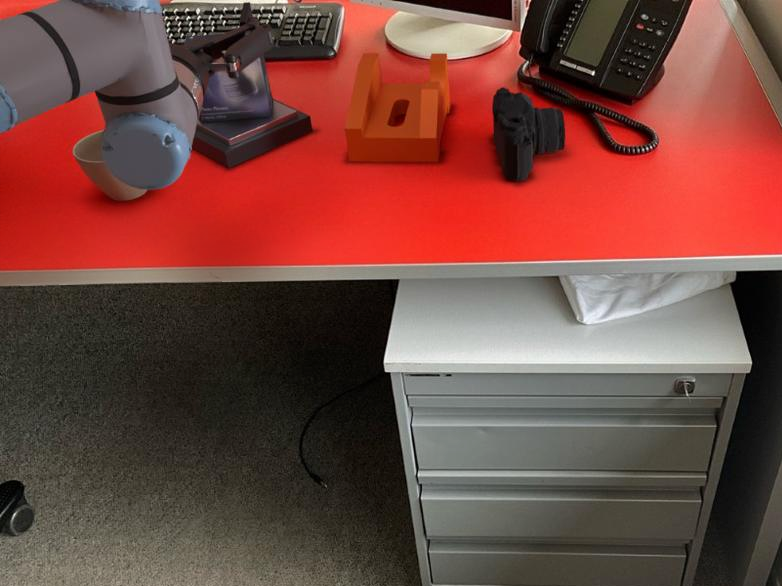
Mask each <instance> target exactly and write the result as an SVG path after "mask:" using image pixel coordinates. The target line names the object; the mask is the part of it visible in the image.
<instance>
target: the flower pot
mask: <svg viewBox="0 0 782 586" xmlns="http://www.w3.org/2000/svg"><path fill="white" fill-rule="evenodd" d="M103 131H104V129H102V130H98V131H96V132H93V133H90V134H88V135H86V136H84V137H83V138H81V139H79V140H78V141H77V142H76V143H75V144H74V145H73V147H72V155H73V157H74V159H75V161H76V162H77V164H78V166H79V167H80V169H81V170H82V171H83V173H84V174H85V175H86V177H87V178H88V179H89V180H90V181H91V182H92V183H93V185H94V186H96V187H97V188H98V189H99V190H100V191H101V192H102V193H104V194H105V195H106V196H108V197H109V198H110V199H112V200H114V201H118V202H119V201H121V202H122V201H123V202H125V201H132V200H134V199H137V198H138V199H139V198H140V197H142V196H143V195H145V194H146V193H147V191H148V190H144V189H138V188H134V187H131V186H129V185H127V184H125V183H123V182H122V181H120V180H119V179H117V178H116V177H115V176H114V175H113V174H112V173H111V172H110V171H109V169H108V168H107V166H106V165H105V163H104V161H103V158H102V154H101V144H102V138H103V136H102V133H103Z"/></svg>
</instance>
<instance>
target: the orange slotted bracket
mask: <svg viewBox="0 0 782 586" xmlns="http://www.w3.org/2000/svg"><path fill="white" fill-rule="evenodd" d="M448 64H449V63H448V53H437V52H436V53H434V52H433V53H431V54H430V57H429V81H427V80H426V81H425V80H424V81H422V82H418V83H417V82H416V83H415V82H412V83H411V82H405V83H404V82H388V83H387V82H383V79H382V71H381V70H382V69H381V60H380V53H378V52H377V53H375V52H372V53H371V52H370V53H369V52H368V53H367V52H366V53H365V52H363V53H362V56H361V58H360V60H359V63H358V65H357V69H356V74H355V79H354V84H353V87H352V92H351V96H350V102H349V106H348V109H347V115H346V120H345V124H344V135H345V141H346V148H347V155H348V161H349V162H380V163H381V162H382V163H388V162H389V163H391V162H392V163H439V159H440V156H441V155H440V154H441V149H440V148H441V147H440V143H441V139H442V135H443V130H444V125H445V120H446V116H447V114H449V113H450V108H451V100H450V99H451V97H450V82H449V65H448ZM400 115H405V117H404V120H403V123H402V124H401V125H398V126H394V124H395V120H396V118H397V117H398V116H400Z"/></svg>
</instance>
